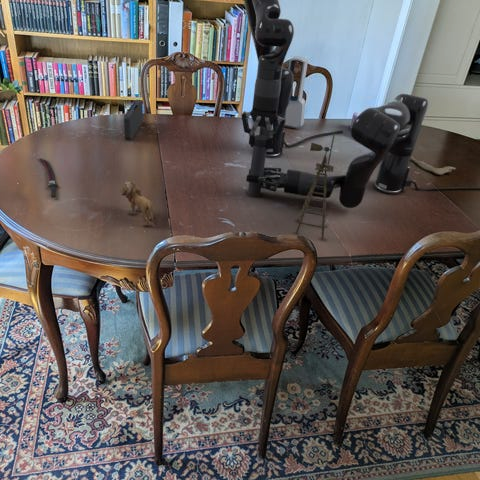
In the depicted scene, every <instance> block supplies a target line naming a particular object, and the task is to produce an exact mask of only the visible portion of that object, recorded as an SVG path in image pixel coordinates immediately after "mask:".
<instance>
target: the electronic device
mask: <svg viewBox="0 0 480 480" xmlns="http://www.w3.org/2000/svg"><path fill="white" fill-rule="evenodd" d="M296 62H297V63H301V68H300V74H299V81H298V87H297V94H296V96H294V95H292V94H291V97H290V102H289V105H288V107H287V110H286V116H285V118H286V122H285V124H284V128H289V129H294V130H295V129H296V130H300V129H301V128H302V126H303V125H304V124H305V114H306V113H305V112H306V100H305V98H304V97H303V96H304V95H303V94H304V87H305V82H306V75H307V69H308V63H309V59H308V58H307V57H305V56H301V55H296V56H292V57H291V58H290V59H289V62H288V69H289V70H291V71H292V73H293V75H294V73H295V68H296V67H295V66H296Z"/></svg>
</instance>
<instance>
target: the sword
mask: <svg viewBox="0 0 480 480" xmlns="http://www.w3.org/2000/svg"><path fill="white" fill-rule="evenodd" d="M40 161H41V162H42V163H43V165H44V166H45V169H46V173H47V176H48V185H47V188H50V198H56V197H57V189H56V188H57V187H59V185H58V184H57V183H56V180H55V176H54V172H53V169H52V167H51V164H50V163H49V161H48V160H46V159H43V158H40Z"/></svg>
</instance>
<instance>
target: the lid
mask: <svg viewBox="0 0 480 480" xmlns="http://www.w3.org/2000/svg"><path fill="white" fill-rule="evenodd" d="M253 143H254V144H255V145H257V146H267V143H268V137H267V136H264V135H259V134H255V136H254V140H253Z"/></svg>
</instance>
